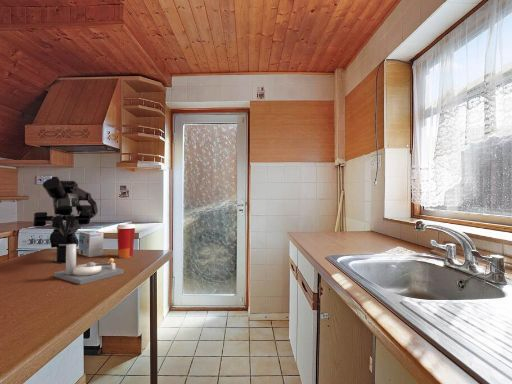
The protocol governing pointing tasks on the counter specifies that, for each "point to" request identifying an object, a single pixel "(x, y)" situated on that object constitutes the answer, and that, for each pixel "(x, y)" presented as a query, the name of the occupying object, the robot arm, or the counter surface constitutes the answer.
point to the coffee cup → (125, 240)
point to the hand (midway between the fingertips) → (65, 235)
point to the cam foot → (83, 268)
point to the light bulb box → (91, 243)
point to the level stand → (105, 273)
